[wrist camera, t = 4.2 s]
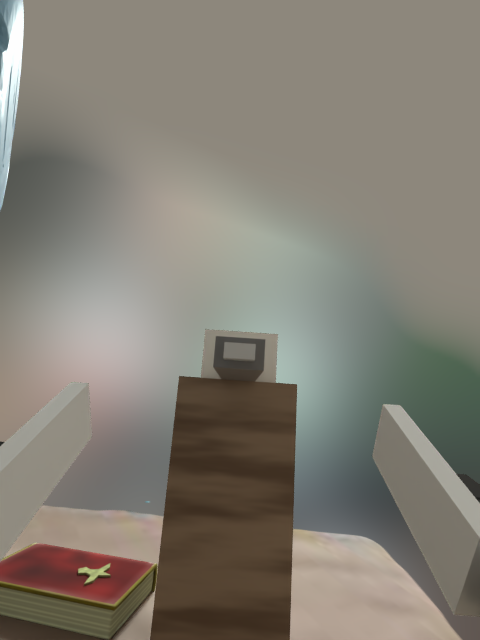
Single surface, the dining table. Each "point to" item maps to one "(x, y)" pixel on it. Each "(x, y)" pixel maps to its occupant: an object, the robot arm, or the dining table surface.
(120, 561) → the hardcover book
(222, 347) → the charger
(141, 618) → the dining table surface
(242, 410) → the stand
